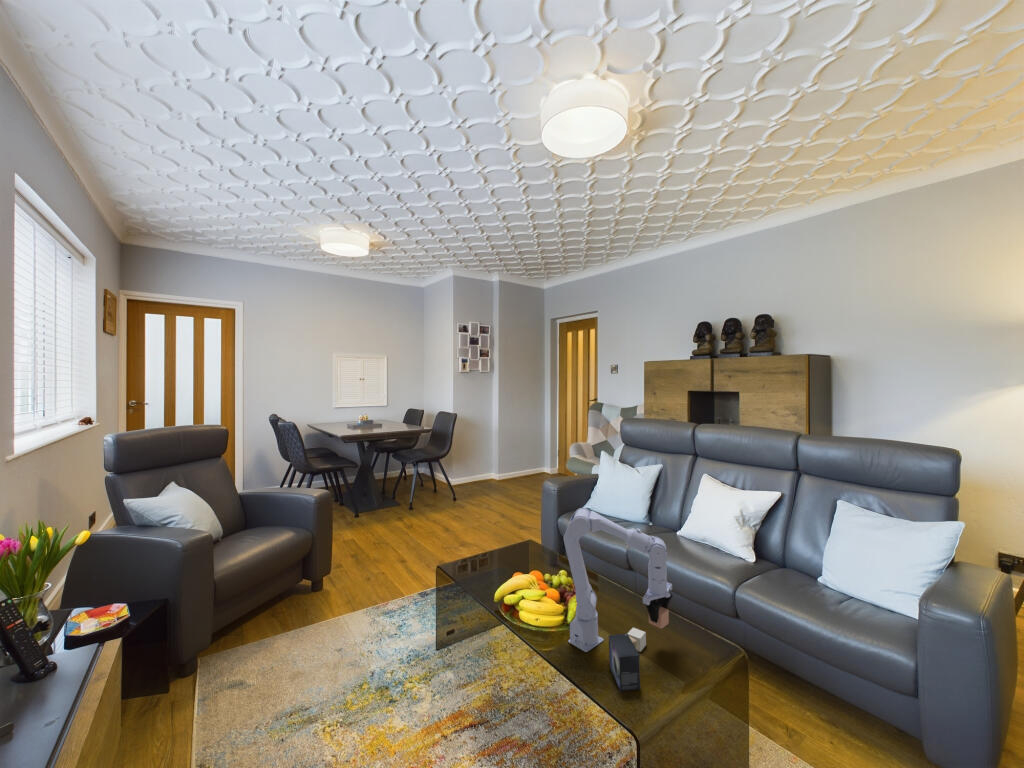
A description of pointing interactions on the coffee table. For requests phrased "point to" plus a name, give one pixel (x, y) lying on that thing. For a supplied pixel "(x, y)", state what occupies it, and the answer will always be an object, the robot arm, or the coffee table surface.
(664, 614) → the terracotta cube
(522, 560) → the coffee table surface
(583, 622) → the robot arm
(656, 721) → the coffee table surface
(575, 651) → the coffee table surface
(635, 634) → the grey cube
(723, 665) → the coffee table surface
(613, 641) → the small box
